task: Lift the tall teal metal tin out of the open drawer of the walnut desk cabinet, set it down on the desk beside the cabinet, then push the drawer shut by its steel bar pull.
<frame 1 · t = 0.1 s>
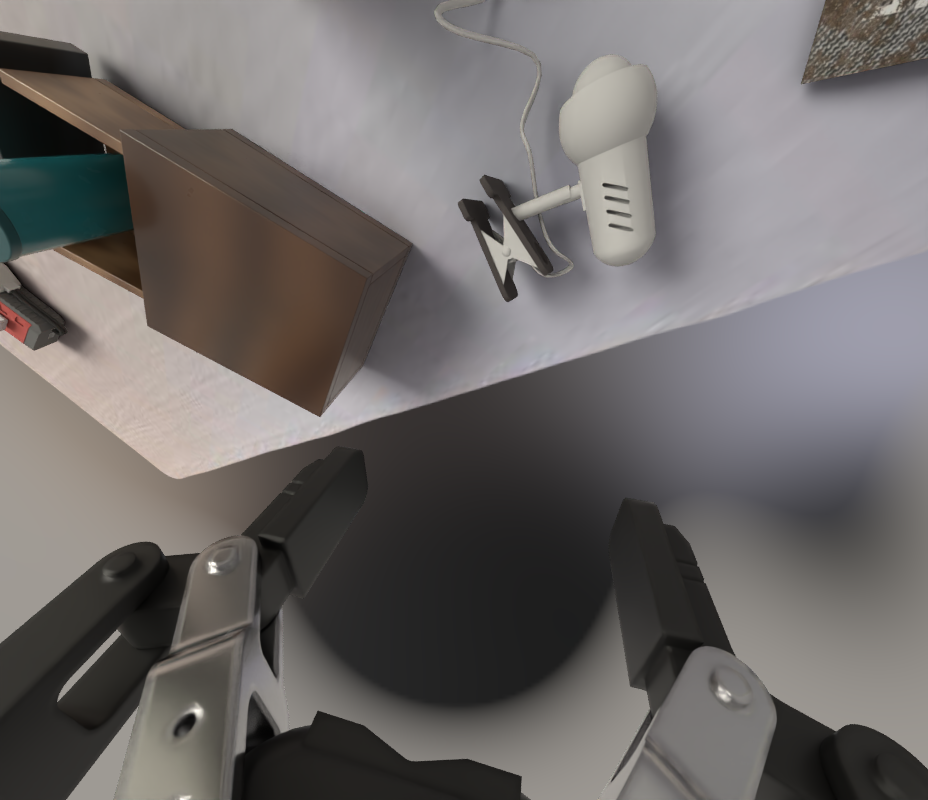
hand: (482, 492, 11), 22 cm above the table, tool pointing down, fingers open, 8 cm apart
cabinet: (309, 268, 32), on the table
drawer: (111, 188, 27), point 4 cm above the table, slide at 10.0 cm, touching tin
tin: (147, 189, 29), point 2 cm above the table, touching drawer
clip-on lamp: (545, 132, 23), on the table
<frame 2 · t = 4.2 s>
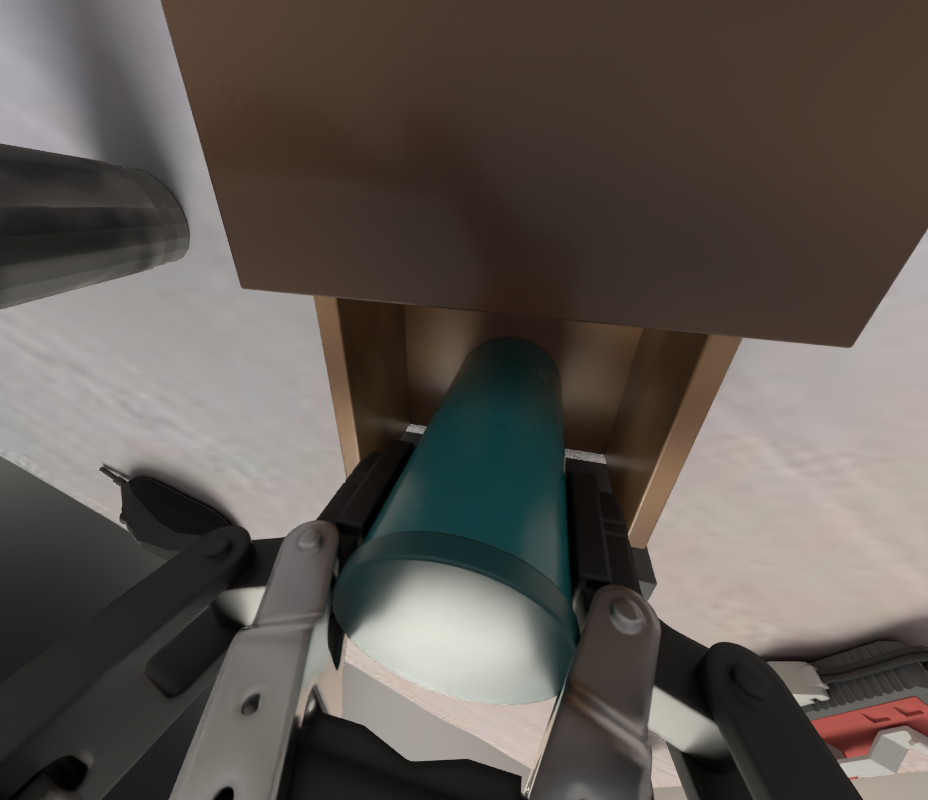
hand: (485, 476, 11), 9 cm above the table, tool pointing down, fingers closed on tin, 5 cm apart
walkie-talkie: (783, 684, 27), on the table
beverage cup: (155, 217, 19), on the table
cabinet: (553, 19, 12), on the table
drawer: (501, 422, 15), point 4 cm above the table, slide at 10.0 cm, touching tin
gaming mouse: (177, 504, 33), on the table
tin: (508, 385, 17), point 2 cm above the table, touching drawer, gripper
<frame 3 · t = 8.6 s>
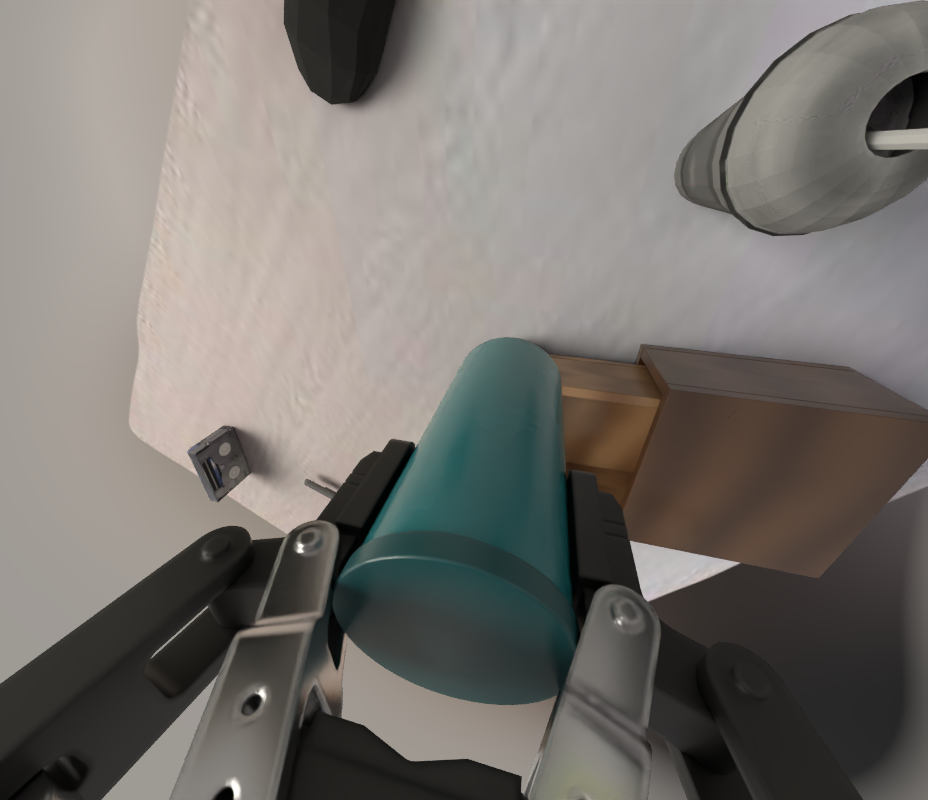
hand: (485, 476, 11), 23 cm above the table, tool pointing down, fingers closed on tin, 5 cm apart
beverage cup: (710, 165, 24), on the table
cabinet: (705, 427, 33), on the table
drawer: (556, 429, 31), point 4 cm above the table, slide at 10.0 cm
mini dv tape: (239, 449, 49), on the table
tin: (508, 386, 17), point 16 cm above the table, touching gripper
when the fingers open (7 cm above the table, at t = 13.1 s): tin stays where it is, on the table.
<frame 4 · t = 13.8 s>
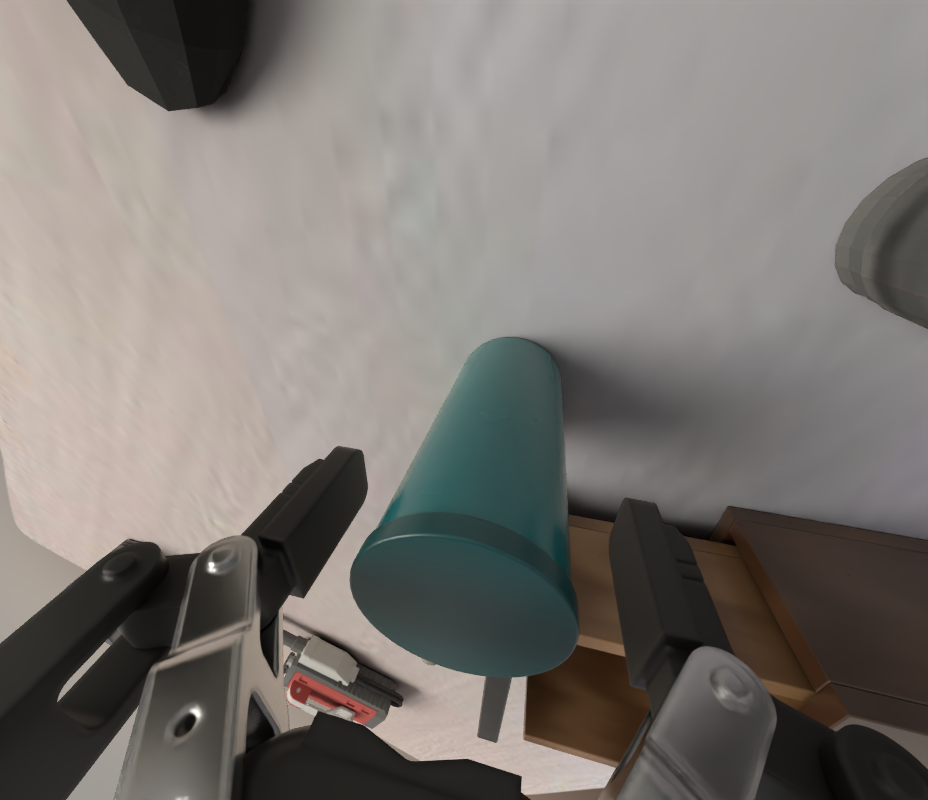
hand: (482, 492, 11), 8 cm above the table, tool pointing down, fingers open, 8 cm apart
walkie-talkie: (324, 651, 39), on the table
beverage cup: (916, 230, 12), on the table
cabinet: (822, 619, 21), on the table
drawer: (585, 638, 19), point 4 cm above the table, slide at 10.0 cm
tin: (510, 384, 18), on the table
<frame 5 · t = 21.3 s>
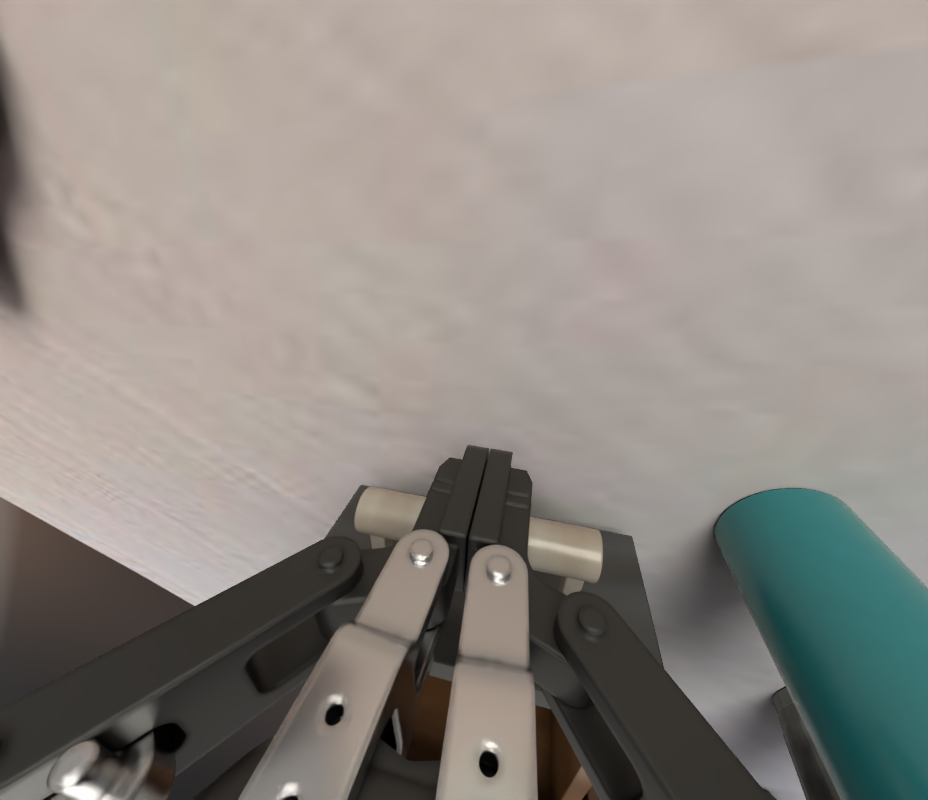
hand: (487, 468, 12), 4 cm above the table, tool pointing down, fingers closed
beverage cup: (816, 699, 21), on the table
drawer: (469, 636, 17), point 4 cm above the table, slide at 9.8 cm, touching gripper
tin: (780, 530, 15), on the table
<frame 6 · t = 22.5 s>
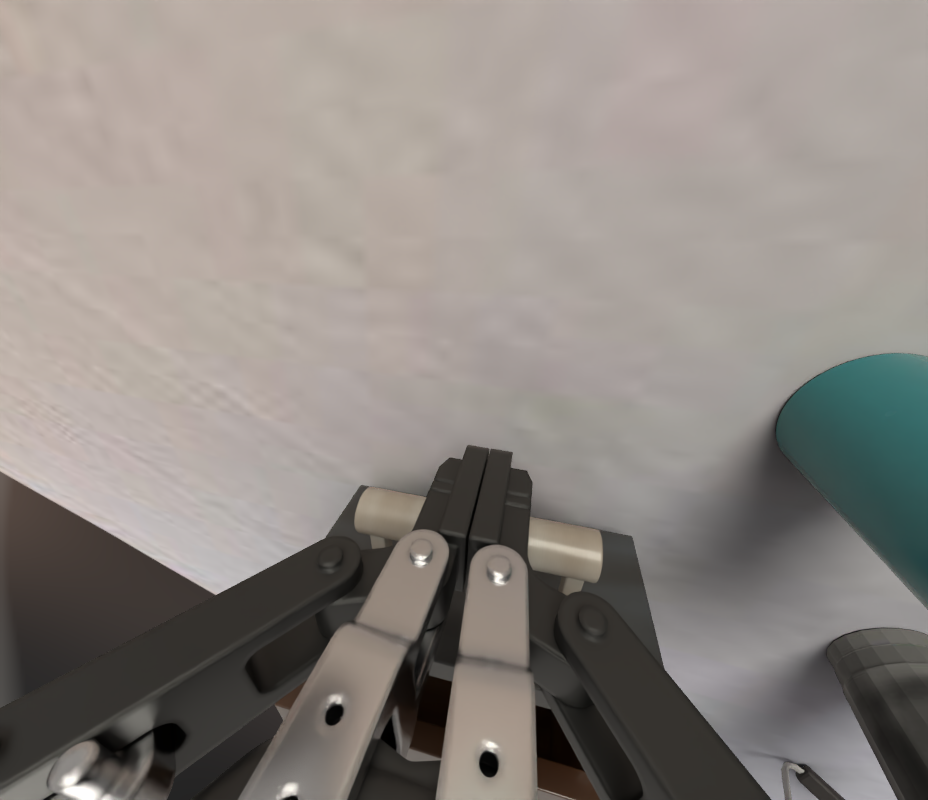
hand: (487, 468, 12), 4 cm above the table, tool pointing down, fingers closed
beverage cup: (879, 649, 18), on the table
cabinet: (477, 628, 24), on the table
drawer: (469, 636, 17), point 4 cm above the table, slide at 3.9 cm, touching gripper
tin: (861, 418, 12), on the table
clip-on lamp: (694, 767, 28), on the table
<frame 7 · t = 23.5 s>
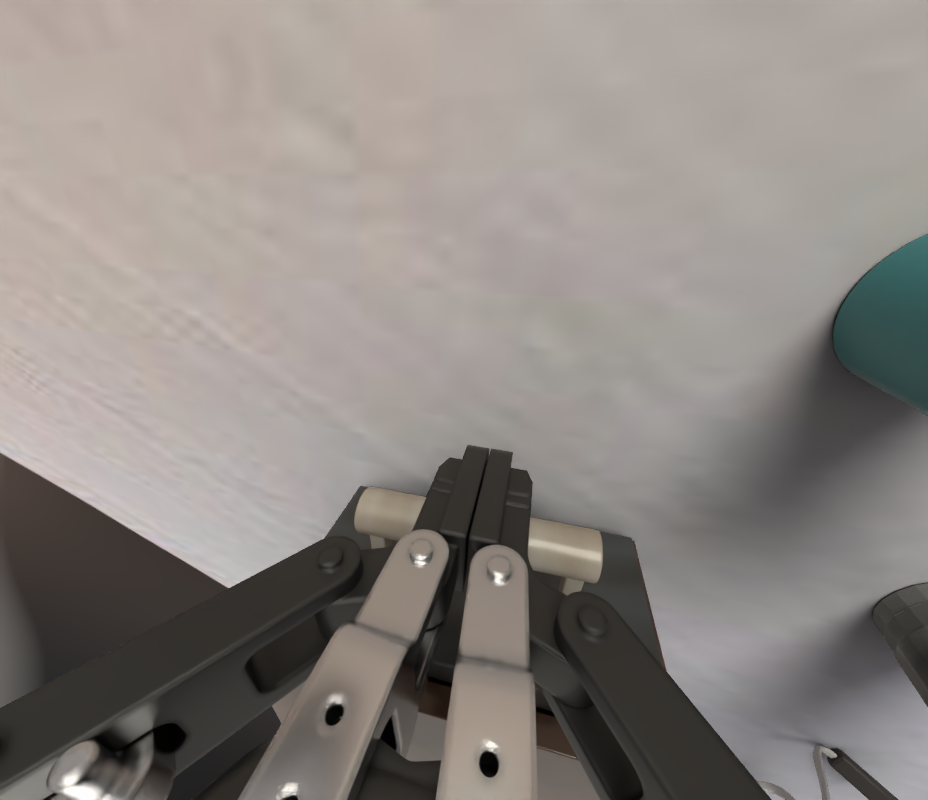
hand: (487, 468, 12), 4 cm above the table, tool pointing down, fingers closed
cabinet: (479, 598, 22), on the table
drawer: (468, 638, 17), point 4 cm above the table, slide at 0.0 cm, touching cabinet, gripper
clip-on lamp: (713, 754, 26), on the table
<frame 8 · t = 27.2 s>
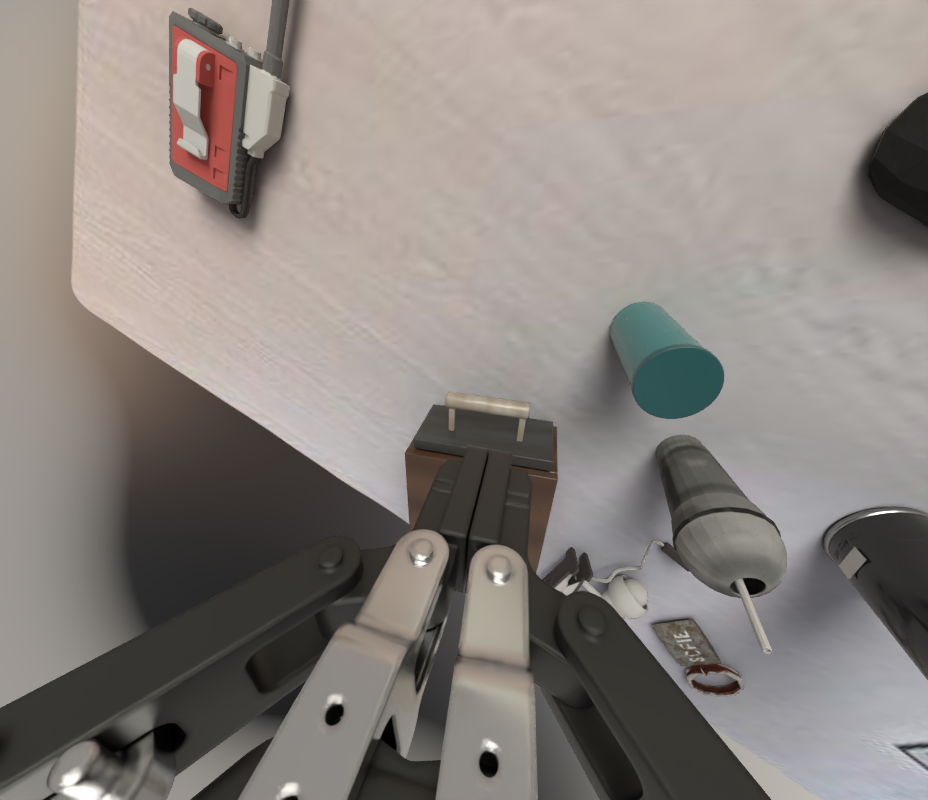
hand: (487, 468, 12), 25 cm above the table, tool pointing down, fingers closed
walkie-talkie: (245, 89, 30), on the table
keychain: (697, 651, 53), on the table
beverage cup: (678, 451, 37), on the table
cabinet: (487, 468, 44), on the table
drawer: (483, 467, 39), point 4 cm above the table, slide at 0.0 cm, touching cabinet
tin: (638, 328, 32), on the table
clip-on lamp: (612, 562, 48), on the table
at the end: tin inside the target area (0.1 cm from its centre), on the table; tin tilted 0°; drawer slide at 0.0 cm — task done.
